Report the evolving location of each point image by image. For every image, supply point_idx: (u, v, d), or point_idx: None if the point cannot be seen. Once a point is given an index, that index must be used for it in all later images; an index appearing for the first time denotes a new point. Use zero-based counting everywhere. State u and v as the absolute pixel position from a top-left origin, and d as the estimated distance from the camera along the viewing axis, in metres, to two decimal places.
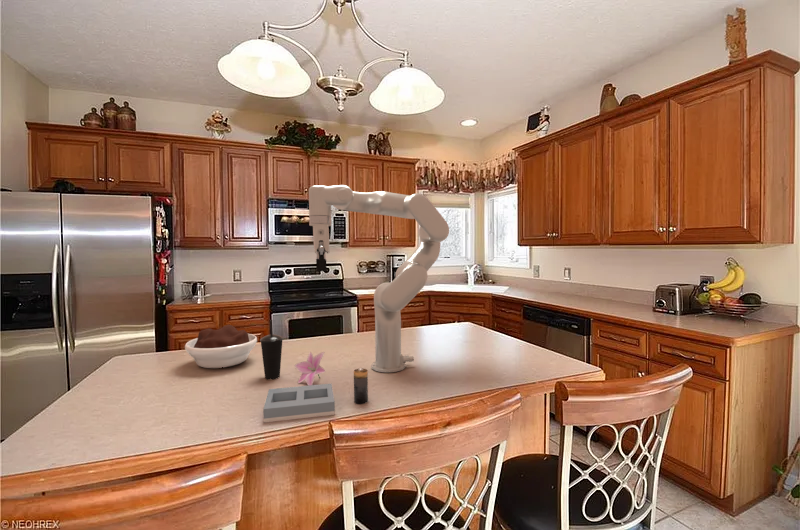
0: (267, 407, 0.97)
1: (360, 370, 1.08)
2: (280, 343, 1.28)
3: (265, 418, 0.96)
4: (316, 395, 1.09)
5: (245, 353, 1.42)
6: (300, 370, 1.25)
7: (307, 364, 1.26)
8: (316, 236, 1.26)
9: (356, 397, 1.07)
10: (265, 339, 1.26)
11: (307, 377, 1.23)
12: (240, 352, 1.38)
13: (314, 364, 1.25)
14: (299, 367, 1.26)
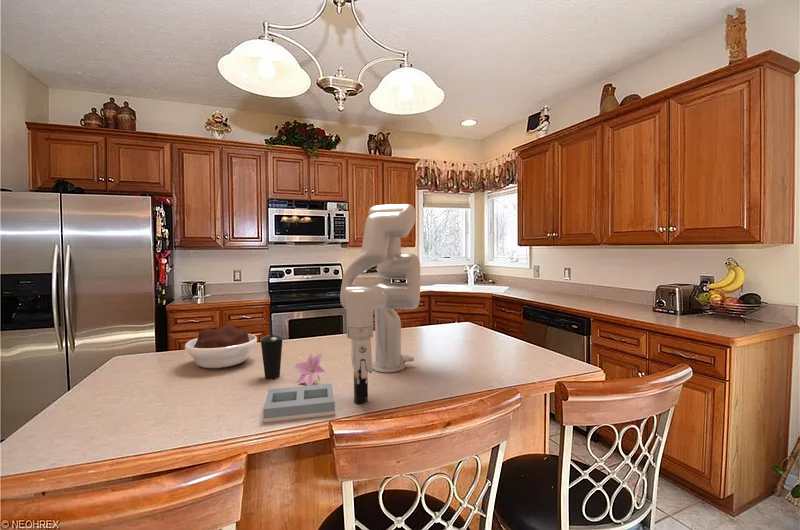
0: (267, 407, 0.97)
1: None
2: (280, 343, 1.28)
3: (265, 418, 0.96)
4: (316, 395, 1.09)
5: (245, 353, 1.42)
6: (299, 371, 1.25)
7: (306, 365, 1.25)
8: (357, 354, 1.03)
9: (356, 397, 1.07)
10: (265, 339, 1.26)
11: (307, 378, 1.22)
12: (240, 352, 1.38)
13: (314, 365, 1.25)
14: (298, 368, 1.25)
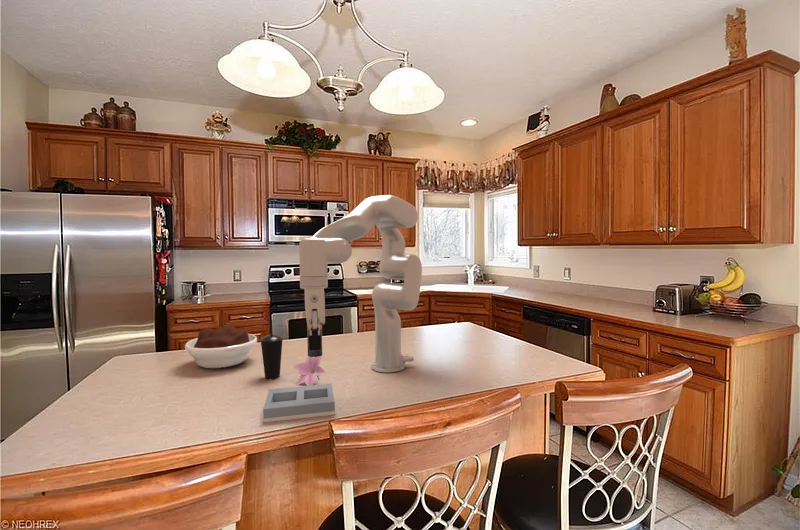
0: (267, 407, 0.97)
1: None
2: (280, 343, 1.28)
3: (265, 418, 0.96)
4: (316, 395, 1.09)
5: (245, 353, 1.42)
6: (299, 371, 1.24)
7: (306, 366, 1.25)
8: (308, 304, 0.99)
9: (309, 350, 1.03)
10: (265, 339, 1.26)
11: (307, 378, 1.22)
12: (240, 352, 1.38)
13: (313, 365, 1.24)
14: (298, 369, 1.25)
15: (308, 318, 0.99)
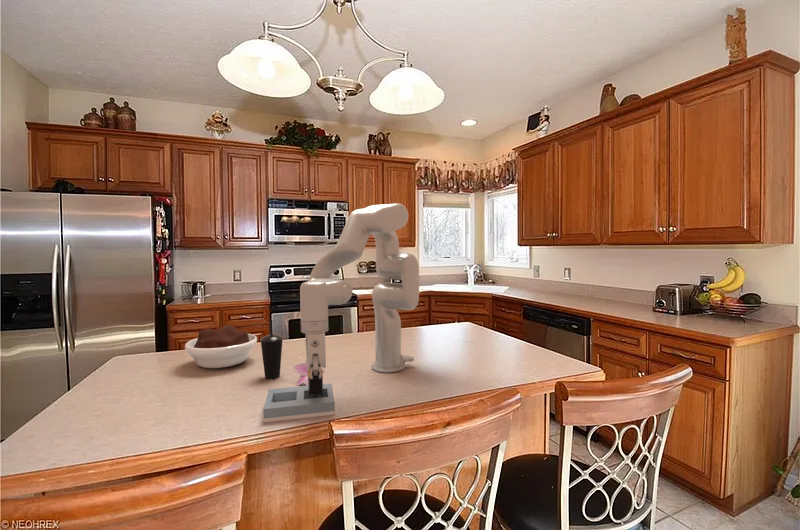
0: (267, 407, 0.97)
1: None
2: (280, 343, 1.28)
3: (265, 418, 0.96)
4: None
5: (245, 353, 1.42)
6: (298, 372, 1.23)
7: (305, 366, 1.24)
8: (309, 349, 1.00)
9: (310, 398, 1.04)
10: (265, 339, 1.26)
11: (306, 379, 1.21)
12: (240, 352, 1.38)
13: None
14: (297, 369, 1.24)
15: (309, 363, 1.00)
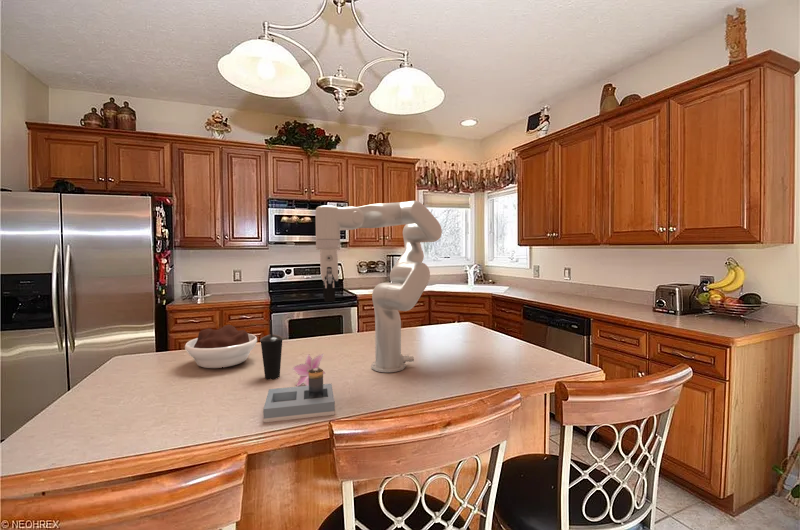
0: (267, 407, 0.97)
1: (315, 370, 1.05)
2: (280, 343, 1.28)
3: (265, 418, 0.96)
4: None
5: (245, 353, 1.42)
6: (298, 373, 1.23)
7: (305, 367, 1.24)
8: (324, 262, 1.14)
9: (310, 398, 1.04)
10: (265, 339, 1.26)
11: (306, 380, 1.20)
12: (240, 352, 1.38)
13: (313, 367, 1.23)
14: (297, 370, 1.23)
15: (324, 275, 1.14)
